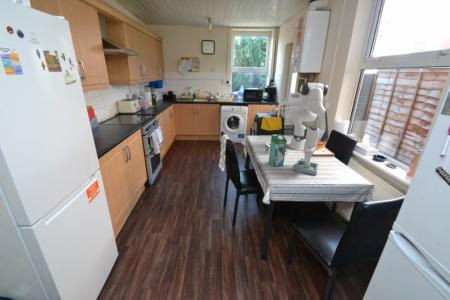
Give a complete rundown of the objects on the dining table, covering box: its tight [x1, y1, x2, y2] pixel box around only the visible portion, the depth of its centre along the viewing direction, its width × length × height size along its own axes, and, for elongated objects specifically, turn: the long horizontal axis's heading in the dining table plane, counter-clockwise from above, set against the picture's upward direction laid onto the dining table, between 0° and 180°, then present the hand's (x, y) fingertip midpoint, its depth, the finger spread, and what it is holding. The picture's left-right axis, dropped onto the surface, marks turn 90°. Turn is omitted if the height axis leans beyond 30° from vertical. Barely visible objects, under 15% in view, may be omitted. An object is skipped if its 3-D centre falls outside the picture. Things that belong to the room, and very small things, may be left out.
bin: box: [294, 159, 319, 176], centre depth 165 cm, size 16×16×4 cm
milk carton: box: [268, 133, 288, 168], centre depth 169 cm, size 9×9×25 cm
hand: (307, 163), depth 165 cm, fingers open, 8 cm apart
